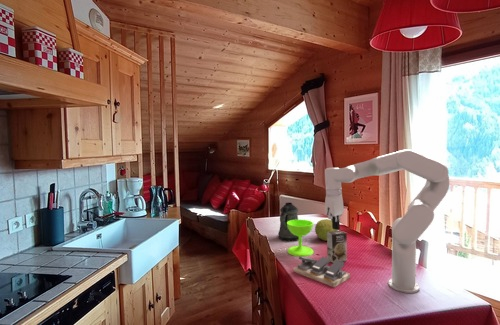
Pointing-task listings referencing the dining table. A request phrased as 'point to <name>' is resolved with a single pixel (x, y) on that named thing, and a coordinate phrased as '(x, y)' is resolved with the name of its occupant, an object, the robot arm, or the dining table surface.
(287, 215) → the beer stein
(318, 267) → the rocker middle
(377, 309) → the dining table surface
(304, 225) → the wineglass
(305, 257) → the plate
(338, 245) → the coffee box
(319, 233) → the fruit
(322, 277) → the switch board
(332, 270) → the rocker near
